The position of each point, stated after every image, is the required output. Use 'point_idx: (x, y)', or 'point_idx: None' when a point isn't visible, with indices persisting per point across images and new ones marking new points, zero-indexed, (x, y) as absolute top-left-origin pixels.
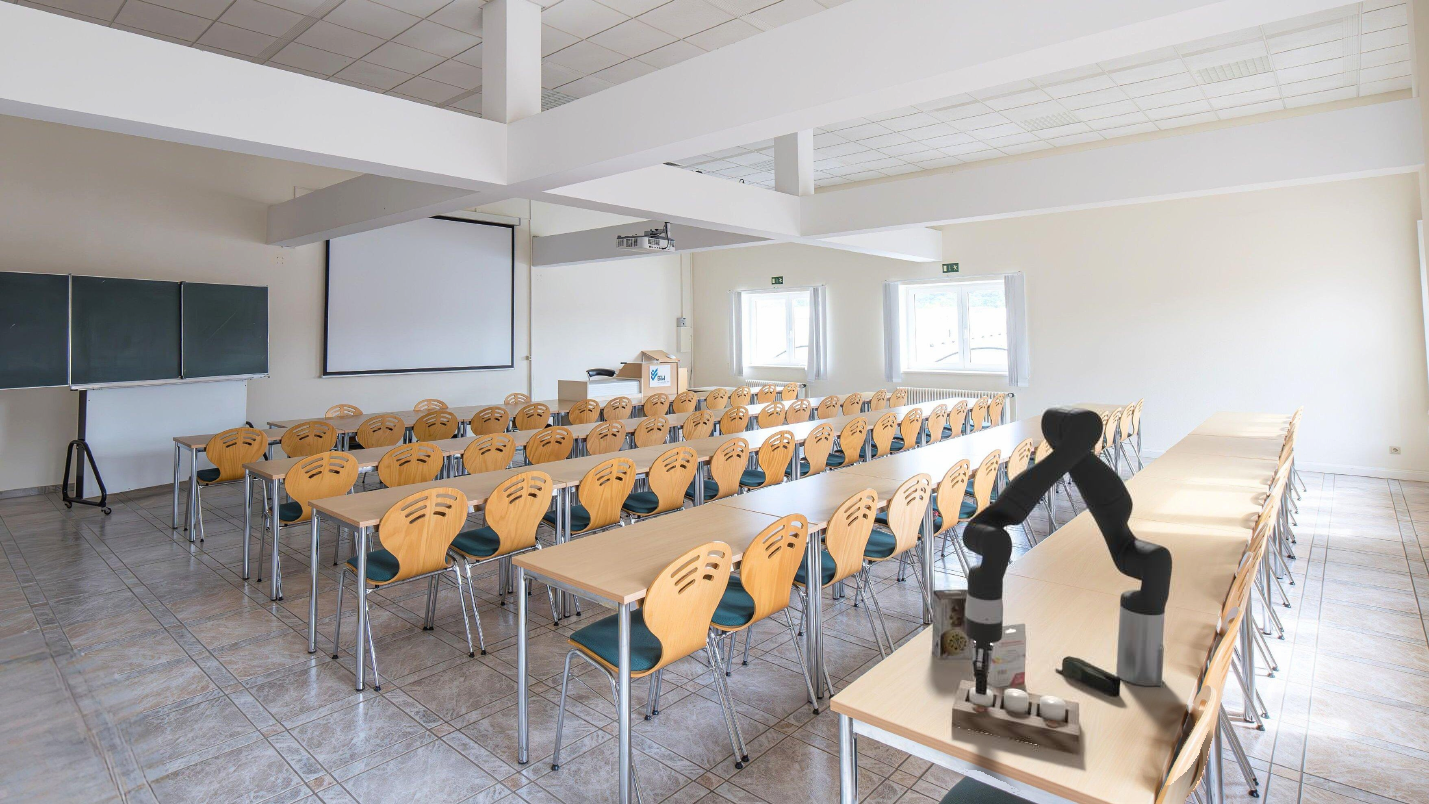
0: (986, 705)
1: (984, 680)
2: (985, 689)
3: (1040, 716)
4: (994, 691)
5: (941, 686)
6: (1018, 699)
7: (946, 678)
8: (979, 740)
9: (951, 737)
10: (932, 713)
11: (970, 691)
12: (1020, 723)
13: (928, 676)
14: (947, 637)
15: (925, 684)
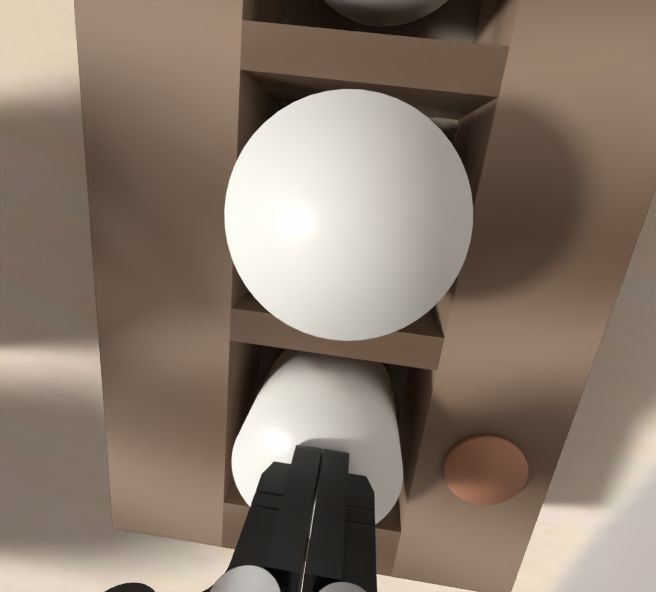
0: (390, 408)
1: (358, 584)
2: (347, 487)
3: (421, 9)
4: (183, 355)
5: (110, 520)
6: (464, 213)
7: (21, 498)
8: (592, 395)
9: (584, 507)
10: None
11: None
12: (650, 194)
13: (46, 561)
14: None
15: (125, 574)
